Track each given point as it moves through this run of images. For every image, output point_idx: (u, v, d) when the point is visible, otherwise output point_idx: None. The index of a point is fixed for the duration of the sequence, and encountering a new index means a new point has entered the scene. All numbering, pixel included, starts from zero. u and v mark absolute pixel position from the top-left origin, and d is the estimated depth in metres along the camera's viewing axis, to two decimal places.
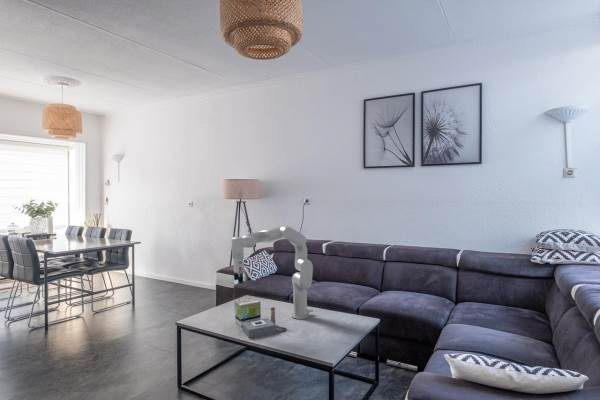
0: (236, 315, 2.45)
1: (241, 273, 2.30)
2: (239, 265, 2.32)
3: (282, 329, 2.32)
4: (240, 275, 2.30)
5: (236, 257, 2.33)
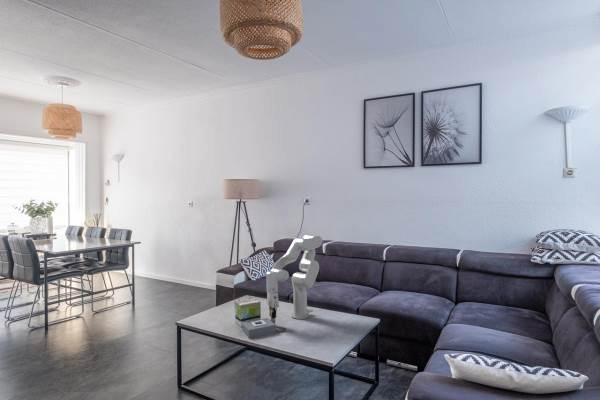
0: (236, 315, 2.45)
1: (275, 310, 2.36)
2: (274, 300, 2.36)
3: (282, 329, 2.32)
4: (274, 310, 2.36)
5: (271, 292, 2.37)
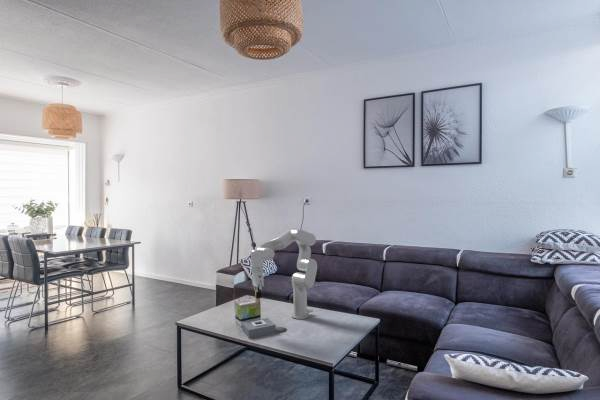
0: (236, 315, 2.45)
1: (259, 289, 2.25)
2: (259, 279, 2.26)
3: (282, 329, 2.32)
4: (258, 290, 2.26)
5: (255, 270, 2.27)
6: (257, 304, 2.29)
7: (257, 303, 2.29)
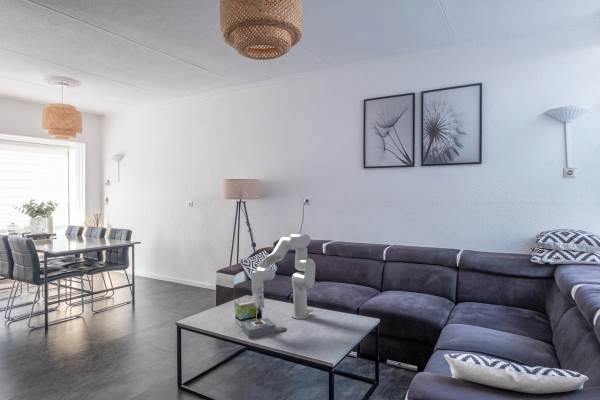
0: (236, 315, 2.45)
1: (260, 310, 2.26)
2: (259, 300, 2.26)
3: (282, 329, 2.32)
4: (259, 311, 2.27)
5: (256, 291, 2.27)
6: None
7: None
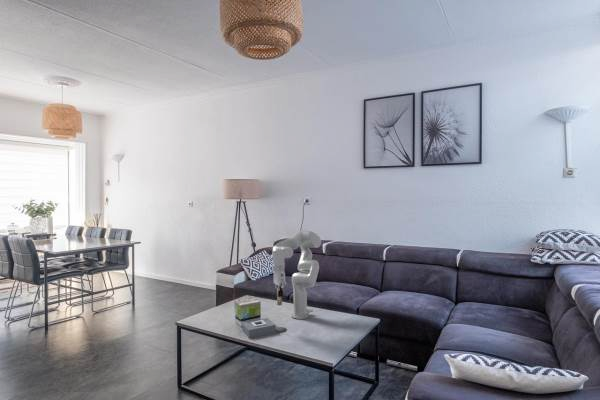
0: (236, 315, 2.45)
1: (282, 288, 2.27)
2: (281, 277, 2.27)
3: (282, 329, 2.32)
4: (280, 289, 2.28)
5: (277, 269, 2.28)
6: (279, 303, 2.30)
7: (279, 302, 2.30)
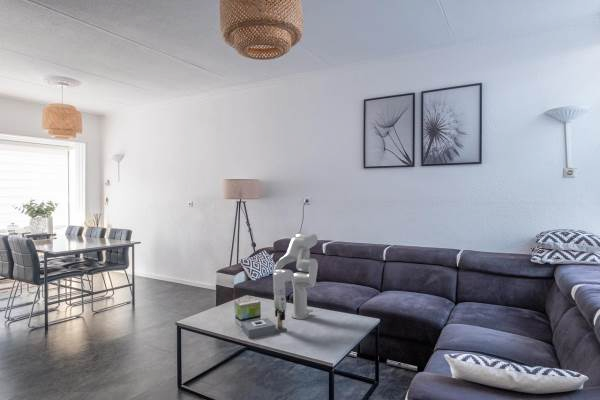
0: (236, 315, 2.45)
1: (284, 311, 2.25)
2: (281, 301, 2.27)
3: (282, 329, 2.32)
4: (282, 312, 2.26)
5: (278, 293, 2.28)
6: (279, 327, 2.31)
7: (279, 326, 2.31)
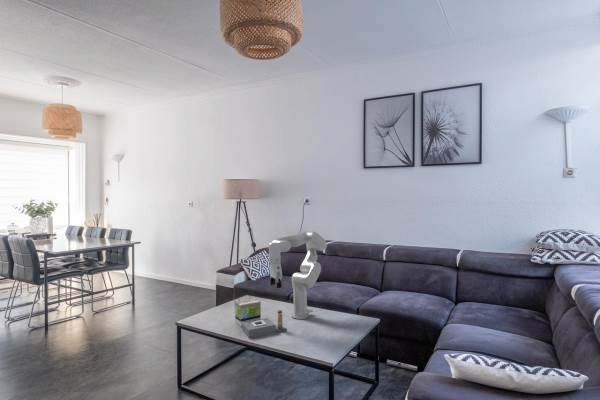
0: (236, 315, 2.45)
1: (280, 278, 2.31)
2: (277, 270, 2.33)
3: (282, 329, 2.32)
4: (279, 280, 2.32)
5: (274, 262, 2.34)
6: (280, 327, 2.31)
7: (280, 326, 2.31)
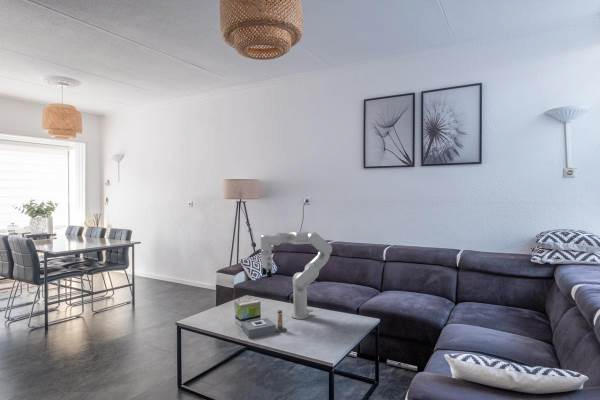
0: (236, 315, 2.45)
1: (270, 268, 2.47)
2: (268, 261, 2.50)
3: (282, 329, 2.32)
4: (269, 270, 2.48)
5: (265, 253, 2.51)
6: (280, 327, 2.31)
7: (280, 326, 2.31)
